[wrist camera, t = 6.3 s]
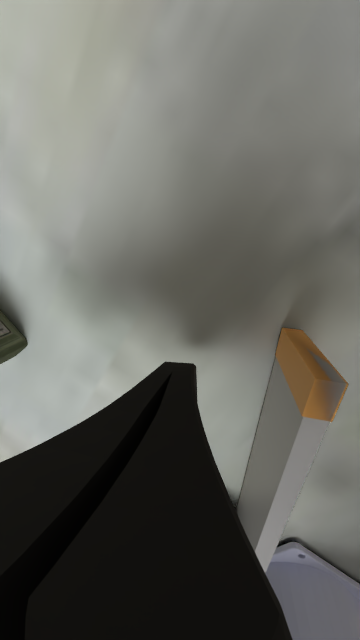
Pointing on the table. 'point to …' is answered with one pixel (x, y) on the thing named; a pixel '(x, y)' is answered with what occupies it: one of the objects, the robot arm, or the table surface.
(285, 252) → the table surface
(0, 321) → the handheld radio
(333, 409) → the side door
